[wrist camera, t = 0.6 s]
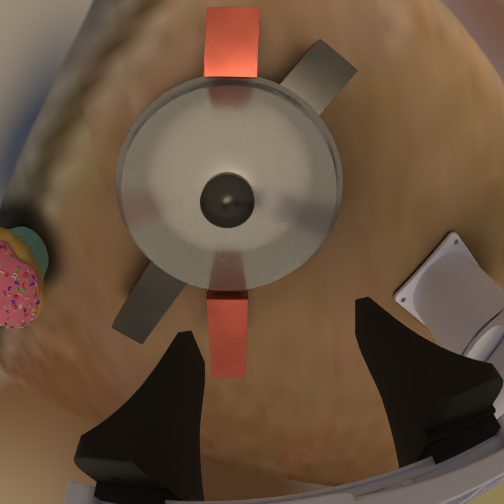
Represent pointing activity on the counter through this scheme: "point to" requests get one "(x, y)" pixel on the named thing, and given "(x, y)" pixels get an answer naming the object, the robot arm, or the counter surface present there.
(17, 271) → the cupcake
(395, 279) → the counter surface
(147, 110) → the pot
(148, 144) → the lid
